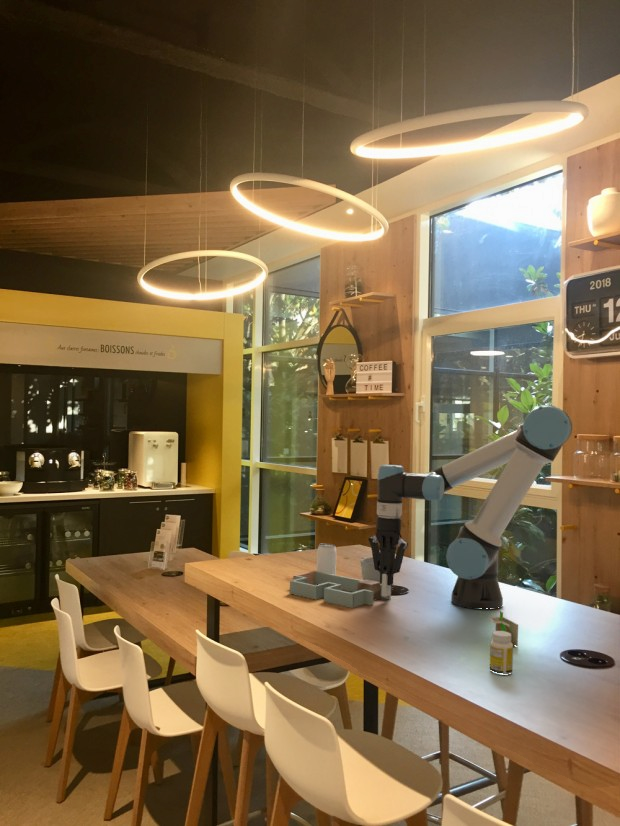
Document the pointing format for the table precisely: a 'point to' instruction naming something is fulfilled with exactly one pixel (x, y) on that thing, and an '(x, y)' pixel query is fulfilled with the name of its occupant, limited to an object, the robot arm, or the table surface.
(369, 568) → the teacup
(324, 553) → the can
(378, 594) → the block
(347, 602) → the box
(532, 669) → the table surface
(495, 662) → the supplement bottle
